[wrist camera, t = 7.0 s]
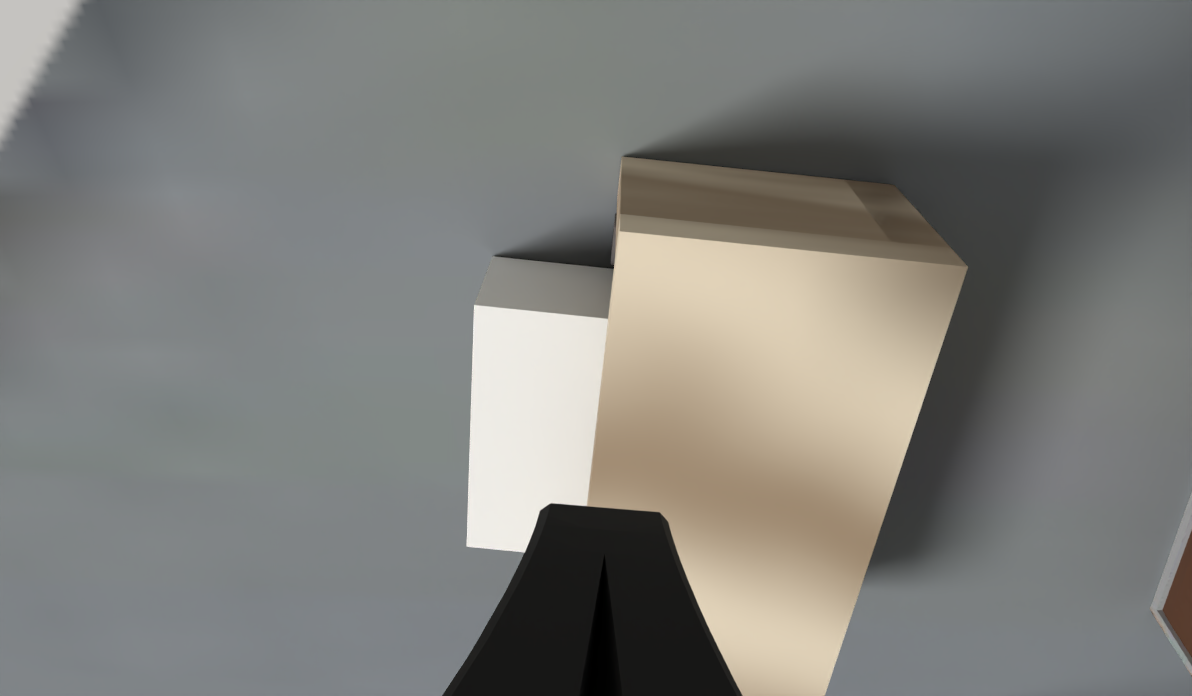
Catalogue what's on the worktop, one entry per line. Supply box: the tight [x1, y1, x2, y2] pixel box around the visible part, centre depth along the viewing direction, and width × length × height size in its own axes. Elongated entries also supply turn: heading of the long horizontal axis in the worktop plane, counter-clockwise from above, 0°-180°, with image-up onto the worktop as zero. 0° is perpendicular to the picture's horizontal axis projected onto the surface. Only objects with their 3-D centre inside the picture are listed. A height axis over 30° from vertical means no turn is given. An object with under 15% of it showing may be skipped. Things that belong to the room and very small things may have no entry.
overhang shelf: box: [587, 157, 968, 696], centre depth 18 cm, size 11×6×4 cm, turn 175°
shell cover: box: [467, 256, 614, 552], centre depth 18 cm, size 6×6×2 cm
